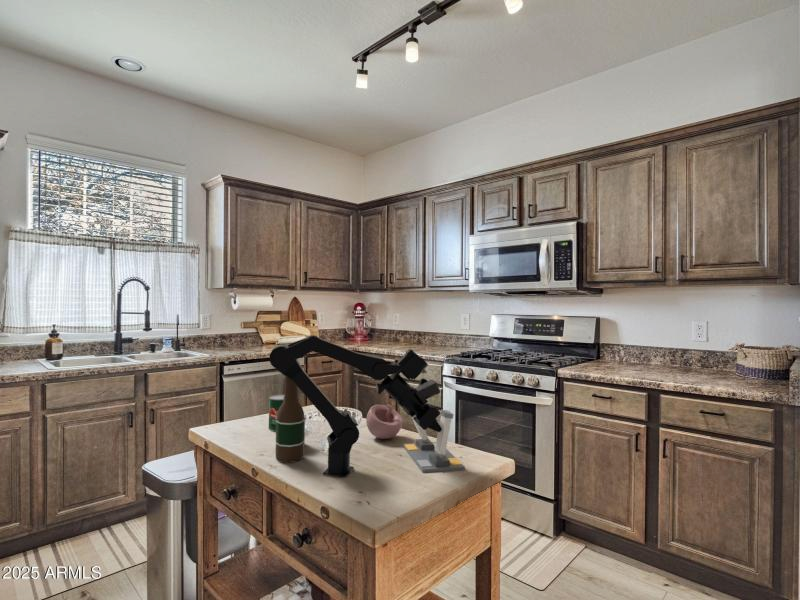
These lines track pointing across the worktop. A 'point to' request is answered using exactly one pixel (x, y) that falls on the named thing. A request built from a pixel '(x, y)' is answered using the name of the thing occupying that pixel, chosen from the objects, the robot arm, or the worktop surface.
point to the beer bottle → (290, 426)
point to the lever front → (443, 433)
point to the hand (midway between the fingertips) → (440, 430)
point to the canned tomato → (274, 410)
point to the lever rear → (421, 431)
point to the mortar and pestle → (383, 421)
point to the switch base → (426, 457)
